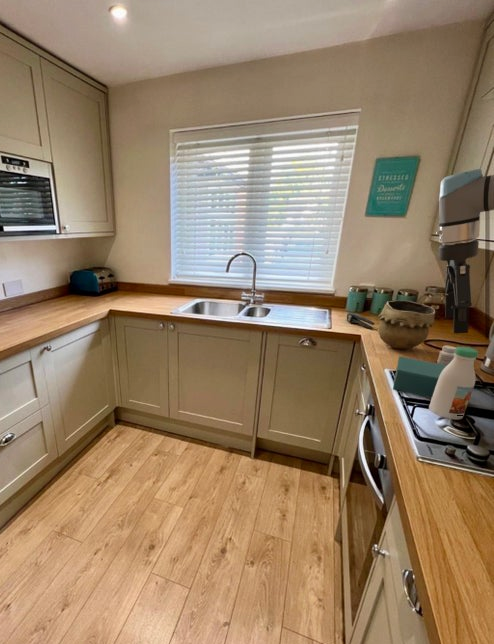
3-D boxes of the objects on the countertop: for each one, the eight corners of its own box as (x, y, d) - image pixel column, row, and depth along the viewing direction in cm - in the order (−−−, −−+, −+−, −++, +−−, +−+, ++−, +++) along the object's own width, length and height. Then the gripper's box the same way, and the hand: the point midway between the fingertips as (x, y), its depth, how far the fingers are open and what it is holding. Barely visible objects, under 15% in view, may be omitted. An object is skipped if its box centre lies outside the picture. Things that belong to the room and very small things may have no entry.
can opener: (342, 321, 189) (344, 311, 187) (352, 320, 191) (354, 311, 189) (367, 330, 173) (369, 319, 171) (377, 329, 175) (379, 318, 173)
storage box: (444, 384, 112) (450, 365, 110) (447, 401, 101) (454, 381, 98) (394, 374, 119) (399, 356, 117) (391, 389, 108) (397, 369, 106)
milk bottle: (433, 419, 91) (455, 351, 84) (423, 406, 97) (444, 342, 90) (466, 425, 88) (493, 356, 81) (454, 411, 95) (478, 346, 88)
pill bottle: (437, 364, 129) (443, 344, 126) (452, 368, 126) (459, 347, 123) (433, 367, 126) (440, 346, 124) (449, 371, 123) (456, 350, 120)
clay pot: (439, 354, 140) (453, 308, 133) (397, 357, 135) (410, 310, 128) (399, 339, 159) (410, 298, 152) (361, 341, 154) (370, 299, 147)
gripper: (433, 240, 92) (432, 313, 99) (446, 250, 73) (444, 341, 79) (468, 234, 88) (465, 310, 95) (492, 243, 69) (486, 339, 75)
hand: (455, 324), depth 87 cm, fingers open, 13 cm apart
